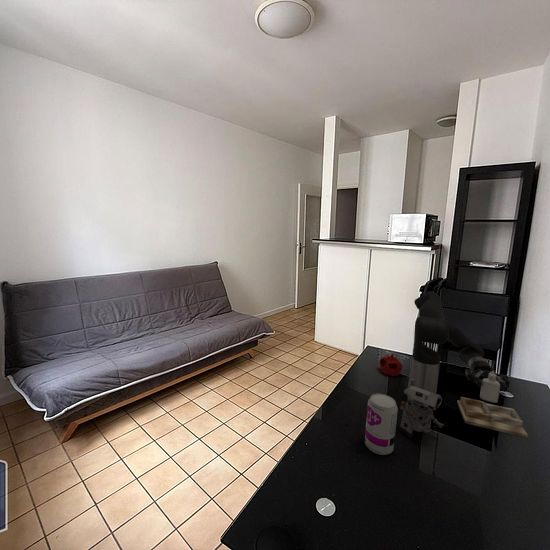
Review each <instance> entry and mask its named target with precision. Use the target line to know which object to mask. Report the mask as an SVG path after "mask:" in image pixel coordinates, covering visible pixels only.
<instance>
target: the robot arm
mask: <svg viewBox="0 0 550 550" xmlns="http://www.w3.org/2000/svg"><path fill="white" fill-rule="evenodd" d="M414 306H416V307H415V308H416V309H418V317H416V319H415V323H414V332H413V333H414V334H413V345H412V346H413V348H412V354H411V364H410V372H409V374H408V385H407V387H409V386H410V385H412V386H415V387H418V388H420V389H423V390H426V391H429V392H432V393H437V388H438V382H439V373H440V366H441V355H440V353H439V352H438V351H437V350H435V349H432V348H431V347H430V346H428V345H426V344H425V343H427V344H433V345H434V344H435V345H444V344H445V343H446V342H447V341H450V343H451V344H452V345H453V346H454V347H456V348H461V347H462V348H461V349H460V350H459V351H458V354H457V355H458V358H459V359H460V360H461V361H462V362H463V363H464V364H466V365H468V368H465V373H464V375H465V376H466V379H467V380H468V381H469V382H474V383H475V385H476V386H478V387H479V388H481V386H482V380H483V379H486V378H488V375H489V373H491V372H492V371H494V369H493V368H492V366H491V365H490V363H489V362H488V361H487V360H486V359H485V358H484V356H485V351H484V349H483V348H482V347H481V346H479V345H478V344H476V343H475V342H473V341H472V340H470V339H469V338H468V337H467V336H466V334H464V333H463V331H462V330H461V329H460V328H459V326H457V325H456V324H453V323H451V322H449V321H448V320H446V318H445V315H444V310H443V300H442V299H441V297H440V296H439V294H438V293H436V292H435V291H433V290H432V291H431V290H429V291H427V292H425V293H423V294H422V295H421V296H418V297H417V298H416V299H414ZM494 374H495V375H496V381H498V382H499V383H500V390H502V392H505V393H507V391H508V389H509V388H510V384H511V381H510V379H508V377H507V376H506V375H503V374H502V375H501V376H499V375H498V374H496V373H495V372H494ZM406 397H407V401H408V400H411V398H410V397H409V395H406Z"/></svg>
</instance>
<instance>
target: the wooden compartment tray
mask: <svg viewBox="0 0 550 550" xmlns="http://www.w3.org/2000/svg"><path fill="white" fill-rule="evenodd" d="M456 403H457V406H458V408H459V412H460V413H461V417H462V419H463V422H464V423H465V424H467V425H471V426H476V427H480V428H484V429H489V430H492V431H493V430H494V431H497V432H501V433H505V434H510V435H515V436H518V437H523V438H527V439H528V436H529V435H528V433H527V432H526V430H525V428H523V422H524V421H523V420H522V418H521V417H520V415H519V414H518V412H517V411H516V410H515V409H514V408H510V407H506V406H501V405H496V404H491V403H487V402H485V400H484V401H483V400H478V399H473V398H469V397H464V396H460V400H458V399H457V402H456Z"/></svg>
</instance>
